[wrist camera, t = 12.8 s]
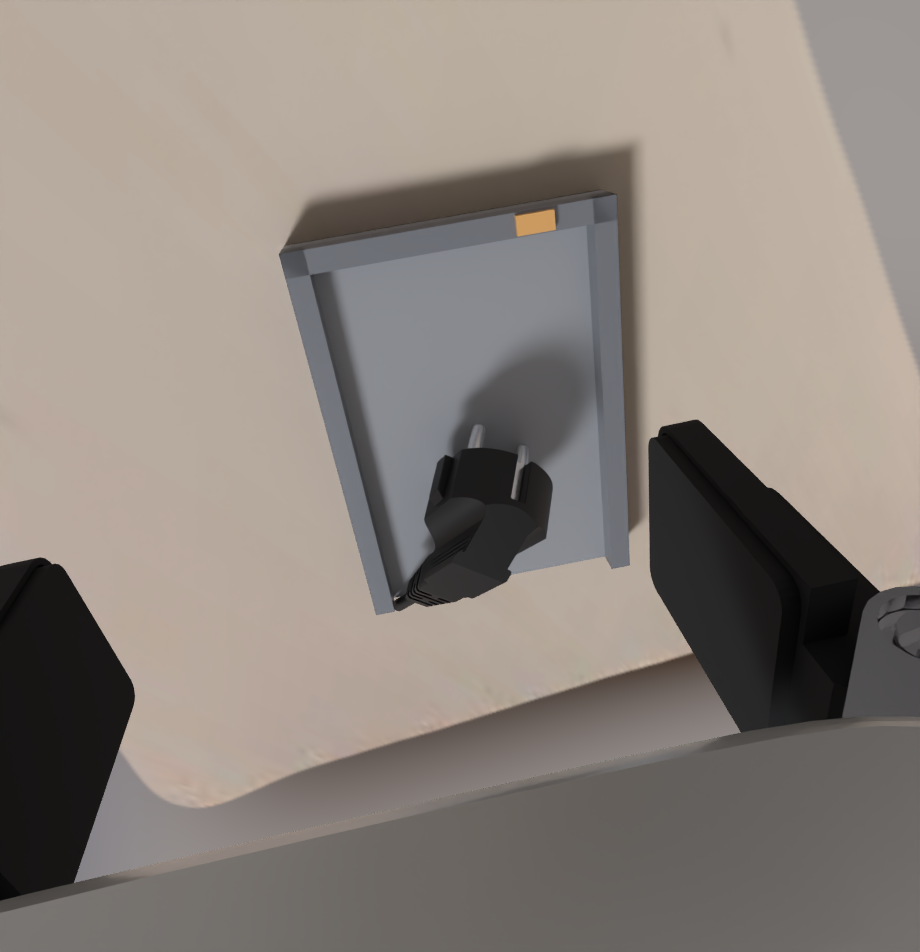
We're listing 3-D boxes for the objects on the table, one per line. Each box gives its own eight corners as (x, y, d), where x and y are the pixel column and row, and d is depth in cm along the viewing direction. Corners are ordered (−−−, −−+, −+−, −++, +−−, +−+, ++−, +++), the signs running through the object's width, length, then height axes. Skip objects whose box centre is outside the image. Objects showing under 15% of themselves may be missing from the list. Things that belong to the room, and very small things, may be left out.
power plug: (347, 602, 36) (448, 532, 27) (381, 482, 40) (480, 382, 31) (440, 635, 38) (566, 579, 29) (464, 517, 42) (582, 433, 32)
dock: (284, 246, 29) (277, 255, 27) (601, 189, 30) (618, 195, 28) (375, 592, 38) (376, 618, 36) (617, 544, 39) (631, 568, 37)
